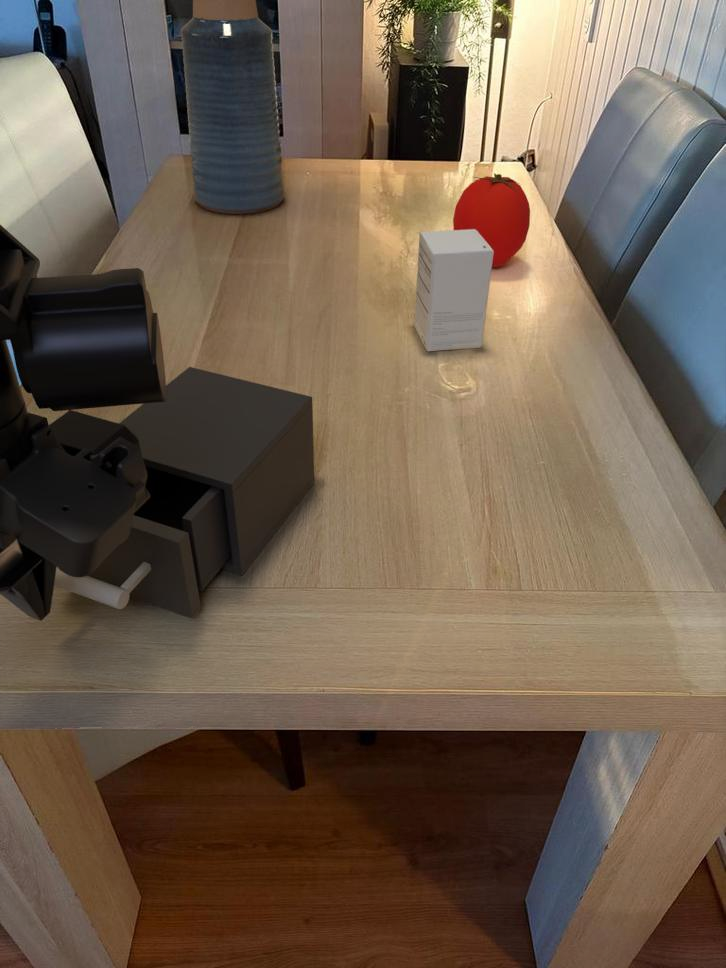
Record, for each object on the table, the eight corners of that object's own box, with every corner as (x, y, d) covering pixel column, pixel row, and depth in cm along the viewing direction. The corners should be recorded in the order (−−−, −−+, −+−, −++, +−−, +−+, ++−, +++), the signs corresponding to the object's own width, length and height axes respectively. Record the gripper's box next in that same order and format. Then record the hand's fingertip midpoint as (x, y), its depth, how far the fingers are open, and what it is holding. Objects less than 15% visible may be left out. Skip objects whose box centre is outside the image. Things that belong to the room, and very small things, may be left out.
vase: (179, 196, 137) (153, -8, 117) (256, 182, 145) (244, -12, 125) (221, 222, 127) (200, 2, 107) (301, 205, 135) (296, -2, 115)
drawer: (159, 660, 53) (141, 583, 48) (33, 611, 56) (4, 534, 51) (271, 520, 65) (266, 447, 60) (162, 486, 68) (149, 415, 64)
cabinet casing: (242, 576, 61) (232, 484, 55) (115, 534, 65) (93, 443, 59) (314, 483, 71) (312, 396, 65) (201, 450, 74) (189, 366, 69)
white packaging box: (466, 322, 98) (477, 227, 91) (482, 349, 93) (495, 250, 85) (412, 325, 97) (418, 229, 90) (424, 352, 92) (433, 252, 84)
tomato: (496, 245, 121) (508, 159, 113) (539, 273, 112) (555, 182, 104) (433, 254, 117) (440, 166, 109) (472, 284, 108) (483, 190, 100)
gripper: (-63, 574, 29) (36, 785, 39) (197, 364, 43) (223, 559, 53) (-254, 500, 33) (-119, 711, 42) (44, 326, 46) (95, 517, 56)
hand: (39, 615), depth 48 cm, fingers closed
